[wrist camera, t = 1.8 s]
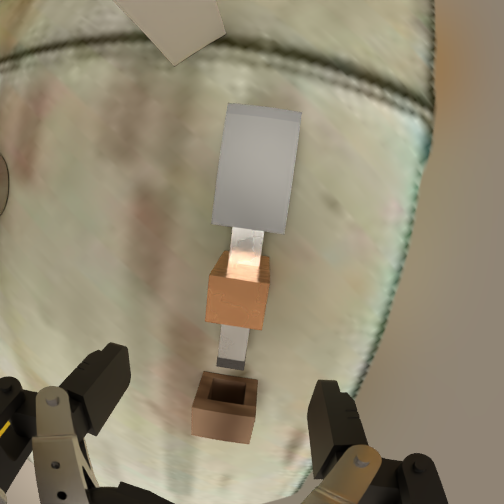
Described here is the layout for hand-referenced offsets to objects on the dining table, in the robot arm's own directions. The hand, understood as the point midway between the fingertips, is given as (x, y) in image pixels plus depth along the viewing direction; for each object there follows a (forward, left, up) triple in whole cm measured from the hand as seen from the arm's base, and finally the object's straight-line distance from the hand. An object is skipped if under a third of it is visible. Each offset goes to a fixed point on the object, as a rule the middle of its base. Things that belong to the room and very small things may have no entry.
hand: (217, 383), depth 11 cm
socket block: (0, -15, -16) cm, 22 cm away
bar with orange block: (0, +2, -16) cm, 16 cm away
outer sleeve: (0, +8, -16) cm, 18 cm away
